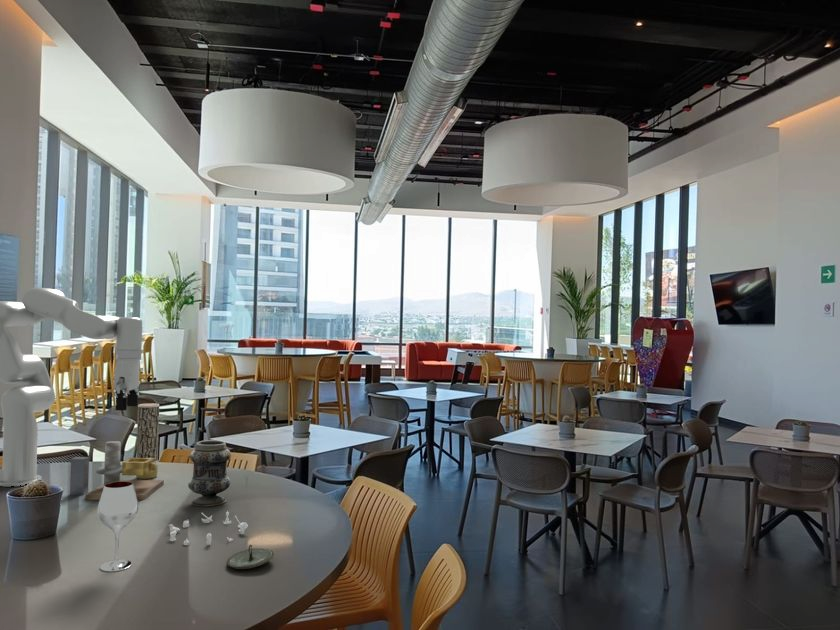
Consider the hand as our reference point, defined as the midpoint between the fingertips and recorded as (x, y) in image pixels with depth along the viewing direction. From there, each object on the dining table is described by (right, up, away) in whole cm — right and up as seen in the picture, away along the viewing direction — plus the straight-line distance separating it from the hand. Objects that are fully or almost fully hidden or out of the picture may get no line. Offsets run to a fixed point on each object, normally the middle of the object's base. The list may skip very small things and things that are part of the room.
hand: (126, 408), depth 205 cm
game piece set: (+40, -27, -42) cm, 64 cm away
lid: (+57, -27, -62) cm, 88 cm away
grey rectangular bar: (-11, -25, -8) cm, 29 cm away
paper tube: (+1, -26, +14) cm, 29 cm away
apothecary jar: (+31, -26, -14) cm, 43 cm away
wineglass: (+28, -26, -65) cm, 75 cm away
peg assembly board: (+2, -26, -5) cm, 26 cm away
